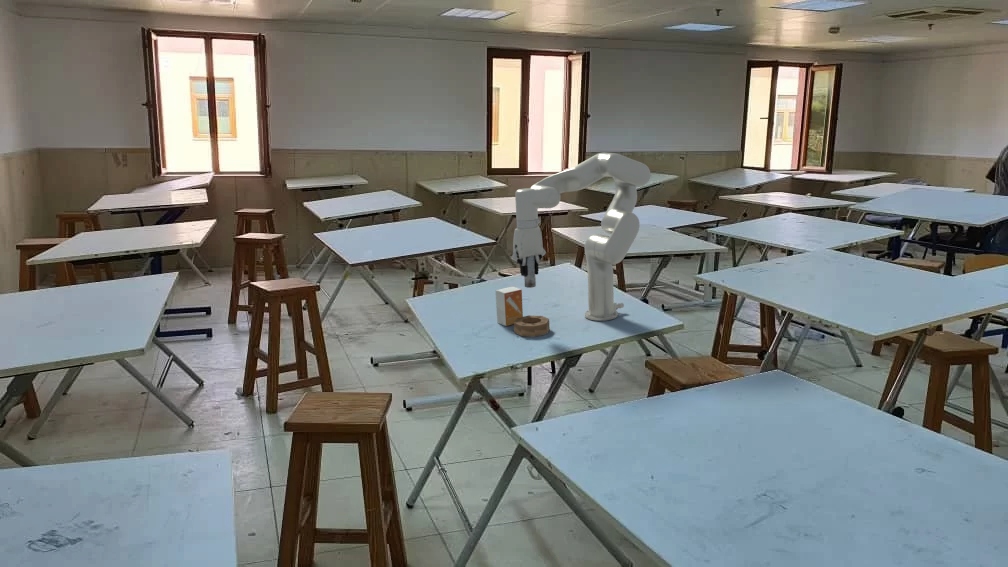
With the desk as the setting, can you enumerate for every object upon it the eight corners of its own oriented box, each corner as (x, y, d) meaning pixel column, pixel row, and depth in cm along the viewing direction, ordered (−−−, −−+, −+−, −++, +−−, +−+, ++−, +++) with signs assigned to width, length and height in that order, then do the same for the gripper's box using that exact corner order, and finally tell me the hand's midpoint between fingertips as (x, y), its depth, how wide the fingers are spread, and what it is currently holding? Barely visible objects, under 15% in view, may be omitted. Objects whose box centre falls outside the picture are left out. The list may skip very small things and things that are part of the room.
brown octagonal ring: (537, 323, 265) (536, 313, 264) (554, 331, 255) (554, 321, 254) (509, 330, 259) (508, 319, 258) (526, 338, 249) (526, 328, 248)
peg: (531, 284, 255) (530, 251, 252) (538, 286, 252) (536, 253, 248) (522, 286, 253) (521, 253, 250) (528, 288, 250) (527, 255, 247)
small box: (506, 326, 264) (504, 293, 260) (496, 322, 269) (494, 289, 265) (523, 322, 268) (522, 289, 264) (514, 318, 273) (512, 285, 270)
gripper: (541, 219, 254) (543, 269, 258) (501, 226, 246) (504, 276, 250) (553, 222, 247) (555, 273, 252) (512, 228, 239) (515, 280, 244)
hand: (529, 274), depth 251 cm, fingers closed on peg, 4 cm apart
